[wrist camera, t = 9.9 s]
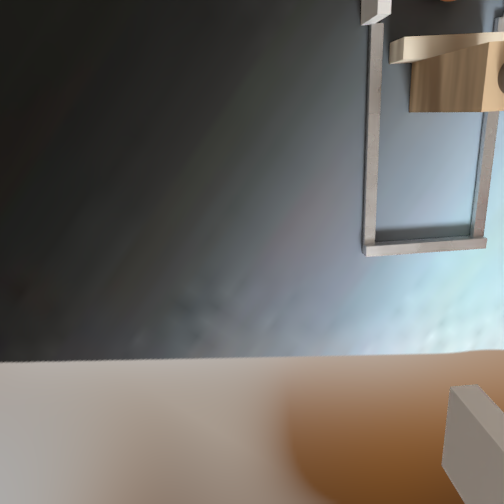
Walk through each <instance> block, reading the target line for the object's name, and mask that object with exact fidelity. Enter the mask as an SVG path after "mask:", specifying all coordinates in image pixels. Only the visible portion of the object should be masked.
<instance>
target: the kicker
mask: <svg viewBox="0 0 504 504" xmlns="http://www.w3.org/2000/svg"><path fill="white" fill-rule="evenodd" d="M396 63H412V72H411V89H410V105H409V112H490V111H504V32H488V33H469V34H449V35H430V36H411V37H403V38H400V39H398V40H396V41H393V42H391V43H390V51H389V64H396Z"/></svg>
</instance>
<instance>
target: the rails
mask: <svg viewBox="0 0 504 504" xmlns="http://www.w3.org/2000/svg"><path fill="white" fill-rule="evenodd" d="M383 29H384V23H372V24H370V25H369V47H368V79H367V112H366V144H365V177H364V209H363V242H362V253H363V254H364V255H365V256H366V257H371V256H385V255H398V254H412V253H426V252H440V251H454V250H468V249H482V248H486V243H487V238H486V237H483V236H484V228H485V220H486V212H487V204H488V196H489V188H490V180H491V172H492V164H493V156H494V149H495V141H496V133H497V125H498V117H499V111H490V112H484V117H483V125H482V134H481V143H480V151H479V160H478V169H477V177H476V186H475V195H474V203H473V212H472V221H471V229H470V235H469V236H455V237H441V238H426V239H412V240H398V241H384V242H375V226H376V202H377V177H378V152H379V128H380V103H381V78H382V54H383ZM493 32H504V17H498V18H495V22H494V30H493Z"/></svg>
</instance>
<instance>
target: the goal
mask: <svg viewBox="0 0 504 504" xmlns="http://www.w3.org/2000/svg"><path fill="white" fill-rule="evenodd" d="M391 1H392V0H361V25H370V24H372V23H377V22H378V21H380V20H382V19H383V18H385V17H387V16H388V15H390V14H391ZM503 17H504V14H503Z"/></svg>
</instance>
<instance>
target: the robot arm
mask: <svg viewBox="0 0 504 504" xmlns="http://www.w3.org/2000/svg"><path fill="white" fill-rule="evenodd" d="M442 467H443V468H444V470H445V472H446V473H447V475H448V477H449V478H450V480H451V481H452V483H453V485H454V486H455V488H456V490H457V491H458V493H459V494H460V496H461V497H462V499H463V501H464V503H465V504H504V413H503V412H502V411H501V409H500V408H499V407H498V406H497V405H496V404H495V403H494V402H493V401H492V400H491V399H490V398H489V397H488V395H487V394H486V393H485V392H484V391H483V390H482V389H481V388H480V387H479V386H478V385H477V384H476V385H465V386H454V387H450V393H449V402H448V412H447V421H446V430H445V439H444V448H443V458H442Z"/></svg>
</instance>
